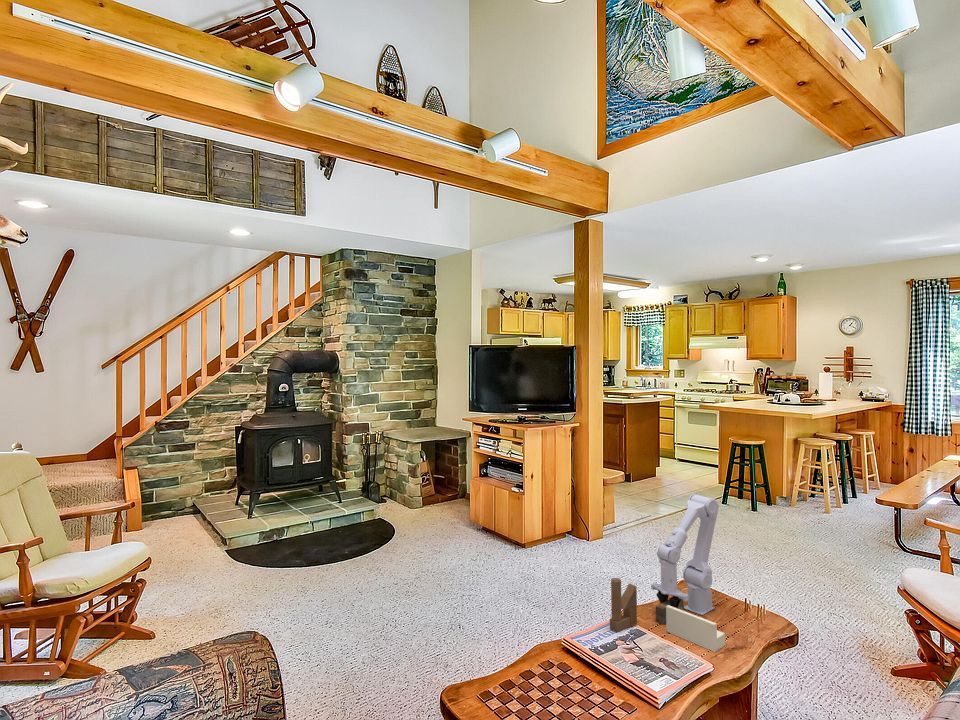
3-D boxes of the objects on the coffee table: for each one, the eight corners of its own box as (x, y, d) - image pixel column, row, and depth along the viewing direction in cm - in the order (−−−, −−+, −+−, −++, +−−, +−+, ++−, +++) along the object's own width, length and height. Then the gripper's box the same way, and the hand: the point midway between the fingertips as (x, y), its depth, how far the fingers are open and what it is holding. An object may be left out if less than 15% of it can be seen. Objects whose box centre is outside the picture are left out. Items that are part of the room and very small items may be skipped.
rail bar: (676, 611, 206) (676, 595, 206) (684, 614, 203) (683, 598, 203) (655, 622, 197) (655, 605, 197) (663, 625, 195) (663, 608, 195)
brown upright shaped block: (637, 624, 195) (636, 575, 195) (616, 632, 189) (616, 582, 190) (629, 620, 198) (628, 572, 198) (609, 628, 192) (608, 579, 193)
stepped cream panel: (677, 625, 194) (676, 600, 194) (725, 645, 180) (724, 618, 180) (666, 631, 190) (666, 606, 190) (714, 652, 176) (714, 624, 176)
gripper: (646, 574, 203) (646, 610, 203) (680, 586, 192) (681, 624, 192) (656, 570, 208) (657, 604, 208) (691, 581, 196) (691, 618, 196)
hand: (669, 613), depth 200 cm, fingers closed on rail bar, 3 cm apart
